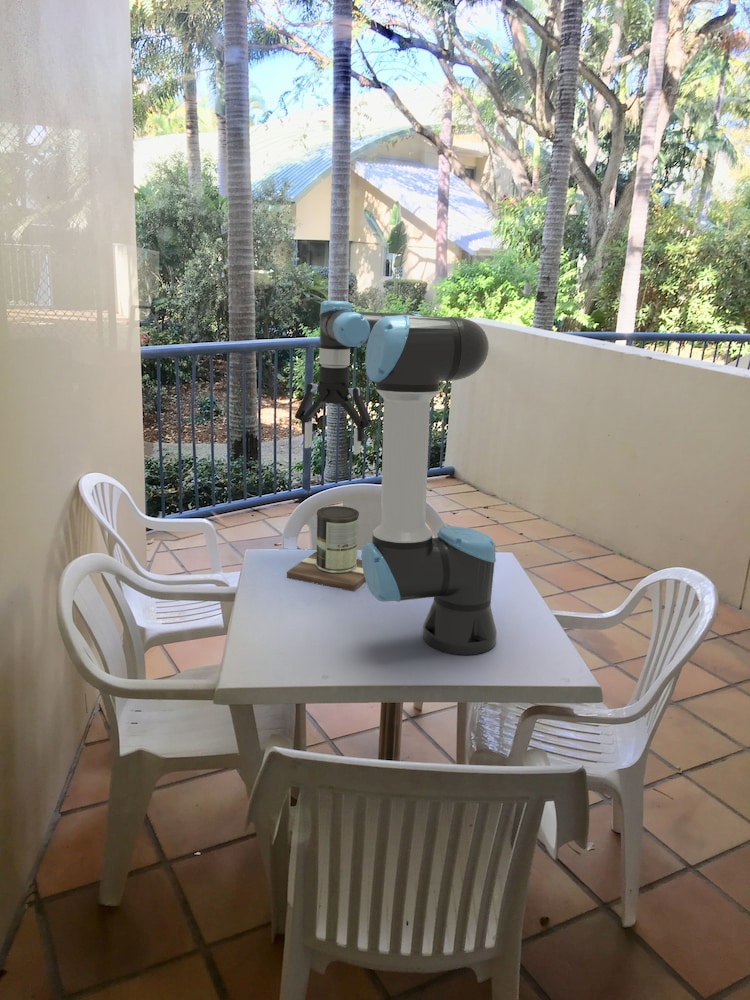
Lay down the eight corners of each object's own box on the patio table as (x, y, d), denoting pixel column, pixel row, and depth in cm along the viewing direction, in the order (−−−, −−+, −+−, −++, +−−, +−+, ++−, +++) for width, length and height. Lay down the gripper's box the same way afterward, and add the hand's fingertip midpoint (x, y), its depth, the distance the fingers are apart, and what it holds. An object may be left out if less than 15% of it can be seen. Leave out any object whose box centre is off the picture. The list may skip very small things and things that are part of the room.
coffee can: (307, 567, 184) (308, 513, 180) (330, 555, 192) (331, 503, 188) (342, 576, 179) (344, 521, 175) (364, 564, 188) (366, 510, 184)
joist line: (366, 574, 181) (366, 573, 181) (301, 561, 188) (301, 561, 188) (371, 570, 184) (371, 569, 184) (306, 558, 190) (306, 557, 190)
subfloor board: (354, 591, 175) (354, 585, 175) (286, 577, 181) (286, 571, 181) (379, 568, 189) (379, 563, 189) (316, 556, 196) (316, 551, 195)
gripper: (387, 368, 181) (383, 453, 187) (296, 360, 190) (295, 441, 196) (375, 371, 175) (372, 459, 181) (282, 363, 183) (281, 447, 189)
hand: (332, 450), depth 188 cm, fingers open, 13 cm apart
